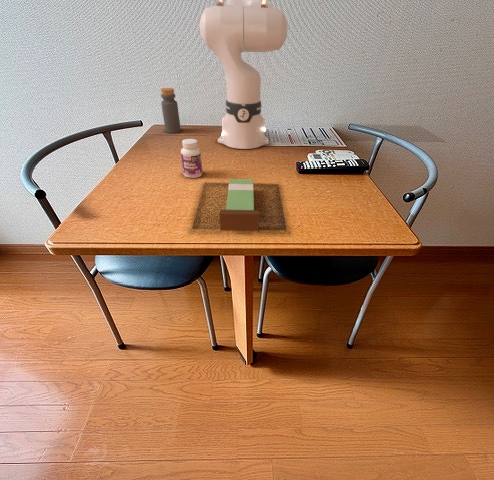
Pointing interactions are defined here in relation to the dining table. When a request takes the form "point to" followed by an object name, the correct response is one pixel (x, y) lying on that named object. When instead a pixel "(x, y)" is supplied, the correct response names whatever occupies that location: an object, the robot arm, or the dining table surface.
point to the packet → (240, 195)
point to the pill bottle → (191, 159)
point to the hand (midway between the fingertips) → (242, 6)
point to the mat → (240, 212)
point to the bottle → (170, 111)
